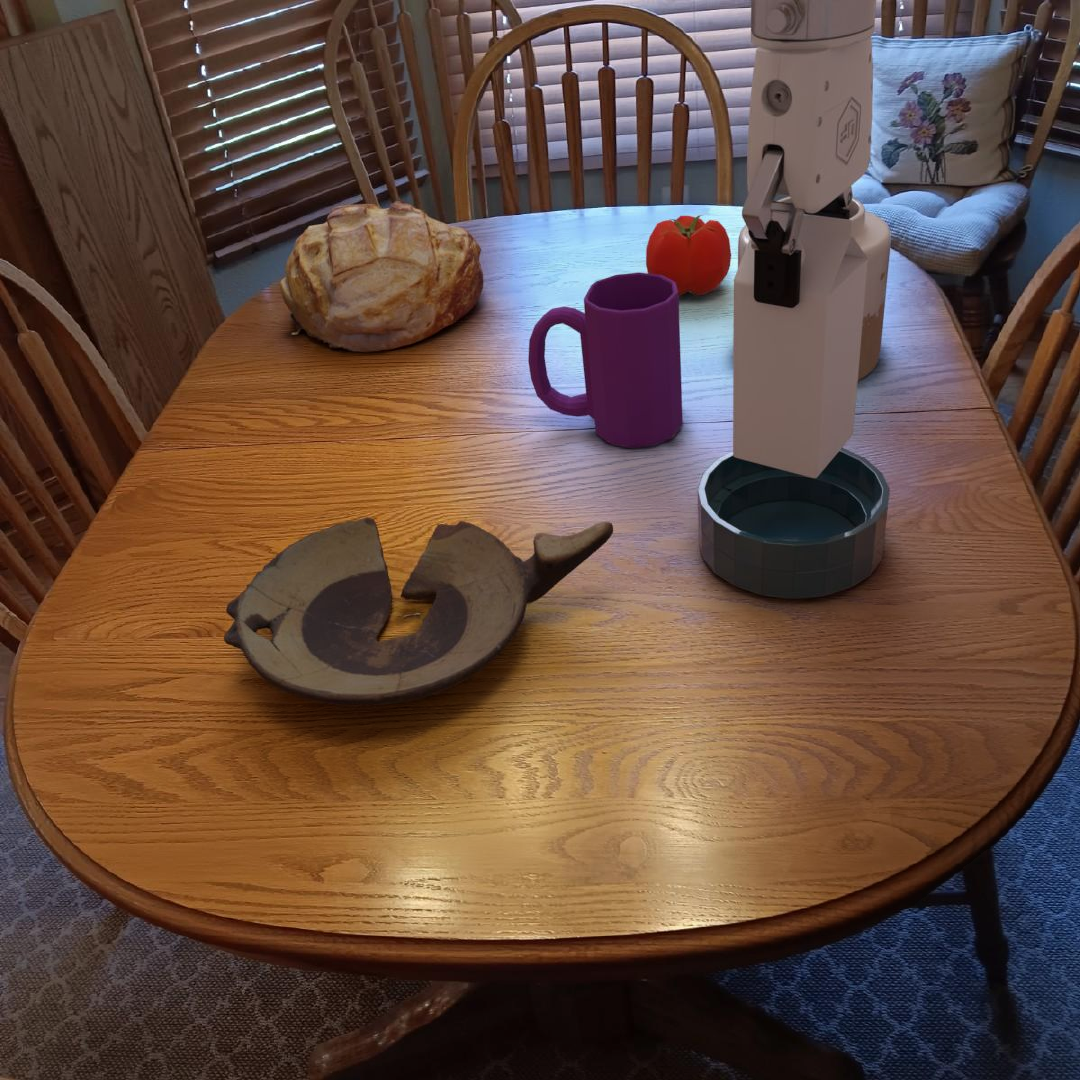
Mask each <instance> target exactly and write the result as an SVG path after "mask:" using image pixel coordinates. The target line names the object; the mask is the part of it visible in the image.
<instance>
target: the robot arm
mask: <svg viewBox="0 0 1080 1080" xmlns="http://www.w3.org/2000/svg"><path fill="white" fill-rule="evenodd" d="M876 10H877V0H750V44H752V45H753V46H755V47H756V49H755V54H754V55H755V56H754V64H753V71H752V72H753V73H752V81H751V89H750V90H751V91H750V102H749V114H748V129H747V151H746V152H747V153H746V155H747V158H746V174H747V175H746V181H747V182H746V183H747V196H746V199H745V201H744V204H743V206H742V208H741V209H742V210H741V217H742V220H743V221H744V223H745V225H747V227H748V229H749V231H748V232H749V236H750V238H751V239H752V241H751V247H752V249H753V250H754V299H755V301H757V302H759V303H765V304H770V305H776V306H782V307H787V308H794V307H795V306H796V305H797V304H798V303H799V299H800V275H801V252H802V250H796V245H797V240H798V236H799V232H800V228H801V224H802V219H803V215H804V211H805V214H808V215H816V216H824V217H832V218H840V219H848V220H849V215H850V210H847V209H843V207H844V208H849V207H850V205H851V202H852V198H854V197H853V196H854V195H853V188H852V186H853V185H854V184H855V183H856V182H857V181H859V180H860V179H861V178H862V177H863V176H865V173H866V172H867V171H868V169H869V166H870V161H871V150H872V148H871V146H872V129H873V128H872V126H873V125H872V123H873V94H874V93H873V92H874V91H873V90H874V86H873V85H874V67H873V66H874V65H873V64H874V63H873V62H874V61H873V60H874V59H873V58H874V57H873V44H872V43H873V41H872V36H873V35H874V34H875V26H876V24H875V23H876ZM778 195H784V196H789V197H791V200H792V202H793V203H786V202H777V201H778V200H774V199H775V198H776V197H777V196H778ZM772 212H773V213H781V214H789V217H788V221H787V225H786V229H785V231H784V230H783V228H782V227H781V225H780V224H779V222H778V221H773V219H772Z"/></svg>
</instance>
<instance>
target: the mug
mask: <svg viewBox="0 0 1080 1080" xmlns="http://www.w3.org/2000/svg"><path fill="white" fill-rule="evenodd" d="M679 297H680V295H679V294H678V290H677V286H676V283H675V282H674V281H672V280H670V279H668V278H666V277H664V276H662V275H656V274H648V272H647V273H646V272H631V273H630V272H629V273H621V274H620V273H619V274H614V275H612V276H608V277H605V278H601V279H599V280H596V281H594V282H593V283H592V284H591V285H590V286H589V289H588V290H587V292H586V294H585V296H584V298H583V306H584V312H583V311H581V310H580V309H577V308H575V307H570V306H558V307H552V308H550V309H549V310H548V311H547V312H546V313H544V314H543V315H542V317H540V319H539V320H538V321H537V322H536V324H535V325H534V327H533V329H532V332H531V335H530V337H529V341H528V367H529V368H528V369H529V375H530V379H531V380H530V381H531V384H532V386H533V389H534V391H535V394H536V397H537V398H538V399H539V400H540V401H541V402H542V403H543V404H544V405H545V407H546V406H547V408H548V409H549V410H550V411H553V412H556V413H559V414H561V415H565V416H570V417H577V418H579V417H586V416H587V417H588V416H589V417H590V418H591V419H593V421H594V430H595V434H596V435H597V436H599V437H600V438H601V439H603V440H604V441H605V442H607V443H608V444H610V445H613V446H619V447H622V448H623V447H624V448H629V449H633V448H644V447H645V448H647V447H654V446H657V445H658V444H661V443H663V442H666V441H668V440H671V439H672V438H673V437H674V436H675V435H676V434H677V433H678V432H679V431H680V429H681V428H682V427H683V425H684V424H683V423H684V422H683V420H684V419H683V394H682V390H683V389H682V388H683V387H682V363H681V362H682V361H681V358H682V357H681V327H680V326H681V325H680V298H679ZM561 324H564V325H565V326H567V327H569V328H571V329H572V330H573V331H575V332H577V334H579V339H580V347H581V357H582V366H583V367H582V368H583V376H584V385H585V393H581V394H576V395H573V396H569V395H566V394H564V393H561V392H559V391H558V390H557V389H555V388H554V387H553V386H552V385H551V382H550V380H549V376H548V370H547V364H546V339H547V335H548V333H549V331H550V330H551V328H553V327H554V326H555V325H561Z"/></svg>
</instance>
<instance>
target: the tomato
mask: <svg viewBox="0 0 1080 1080" xmlns="http://www.w3.org/2000/svg"><path fill="white" fill-rule="evenodd" d="M702 216H704V215H703V214H700V215H697V216H692V215H680V216H678V217H677V218H676V219H673V218H670V219H665V220H662V221H660V222H658V223H656V225H655V227H654V228H653V230H652V232H651V233H650V235H649V237H648V241H647V244H646V248H645V267H646V271H647V273H648V274H656V275H662V276H664V277H666V278H668V279H670V280H672V281H674V282H675V283H676V286H677V290H678V294H679V296H682V295H685V294H686V293H688V292H689V293H690V294H692V295H695V296H703V295H705V294H708V293H710V292H712V291H714V290H716V289H717V288H718V287H719V286H720V285H721V283H722V282H723V281H724V280H725V278H726V277H727V275H728V274H729V270H730V267H731V261H732V250H731V241H730V237H729V234H728V232H727V230H726V227H725V226H723V224H722V223H721V222H720V221H719V220H713V219H709V220H708V221H706V222H704V221H703V219H702V218H700V217H702Z"/></svg>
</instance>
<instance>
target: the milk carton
mask: <svg viewBox="0 0 1080 1080" xmlns="http://www.w3.org/2000/svg"><path fill="white" fill-rule="evenodd" d="M788 217H789V214H781V213H773V212H772V219H773V221H778V222H779V224H780V225H781V227H782V228H783V230H784V231H785V229H786V225H787V221H788ZM852 230H853V220H848V219H840V218H832V217H824V216H816V215H808V214H804V215H803V219H802V224H801V228H800V232H799V236H798V240H797V245H796V250H802V252H801V275H800V299H799V303H798V304H797V305H796V306H795V307H794V308H787V307H782V306H776V305H770V304H765V303H759V302H757V301H755V299H754V250H753V249H752V247H751V241H752V239H751V238H750V239H749V242H748V245H747V247H746V250H745V252H744V255H743V257H742V260H741V262H740V265H739V267H738V266H737V269H736V270H737V271H736V273H735V276H734V278H733V324H732V325H733V328H732V329H733V330H732V331H733V335H732V336H733V341H732V343H733V347H732V348H733V352H732V353H733V355H732V356H733V357H732V359H733V361H732V363H733V365H732V366H733V367H732V369H733V370H732V371H733V372H732V374H733V375H732V378H733V379H732V380H733V381H732V382H733V383H732V384H733V385H732V390H733V391H732V416H733V417H732V451H733V456H734V457H736V458H739V459H743V460H747V461H750V462H754V463H758V464H762V465H766V466H769V467H773V468H777V469H781V470H784V471H788V472H792V473H796V474H800V475H803V476H807V477H811V478H817V477H818V476H819V474H820V473H821V472H822V471H823V470H824V468H825V467H826V466H827V465H828V464H829V463H830V461H831V460H832V459H833V458H834V457H835V455H836V454H837V453H838V452H839V451H840V449H841V448H844V446H845V445H846V444H847V443H848V441H849V440H850V439H851V438H852V437H853V435H854V429H855V419H856V417H855V416H856V407H857V394H858V393H857V392H858V384H859V383H858V382H859V380H858V371H859V359H860V347H861V335H862V323H863V311H864V299H865V287H866V274H867V262H868V258H867V256H866V255H865V253H864V252H863V250H862V249H861V248H860V246H859V245H858V243H857V242H856V240H855V239H854V238H853V236H852Z"/></svg>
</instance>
